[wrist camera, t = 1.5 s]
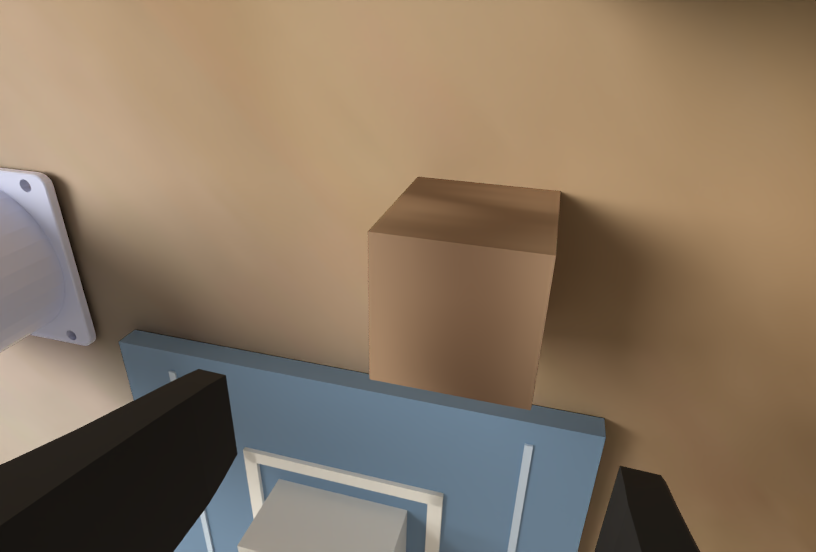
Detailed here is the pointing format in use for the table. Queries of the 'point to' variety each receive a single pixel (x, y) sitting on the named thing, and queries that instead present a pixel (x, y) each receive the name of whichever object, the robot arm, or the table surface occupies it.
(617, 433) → the table surface
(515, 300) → the walnut block
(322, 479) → the blueprint board
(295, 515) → the base block
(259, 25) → the table surface
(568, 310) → the table surface
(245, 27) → the table surface
